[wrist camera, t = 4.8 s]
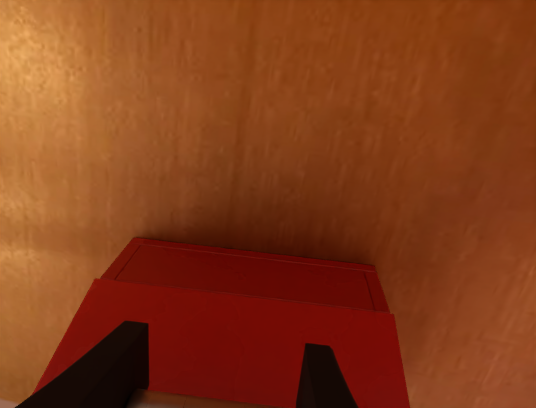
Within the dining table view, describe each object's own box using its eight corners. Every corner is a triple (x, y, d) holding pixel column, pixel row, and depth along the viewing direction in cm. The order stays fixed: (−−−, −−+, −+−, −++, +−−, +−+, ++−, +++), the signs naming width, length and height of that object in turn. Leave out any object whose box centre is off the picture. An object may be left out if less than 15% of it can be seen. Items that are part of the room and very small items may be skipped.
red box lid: (431, 570, 10) (484, 529, 8) (-21, 508, 11) (-79, 455, 8) (390, 321, 16) (416, 260, 14) (97, 286, 16) (79, 221, 14)
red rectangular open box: (350, 378, 22) (359, 439, 18) (135, 351, 22) (107, 407, 19) (374, 264, 19) (390, 312, 16) (133, 236, 20) (99, 277, 16)
